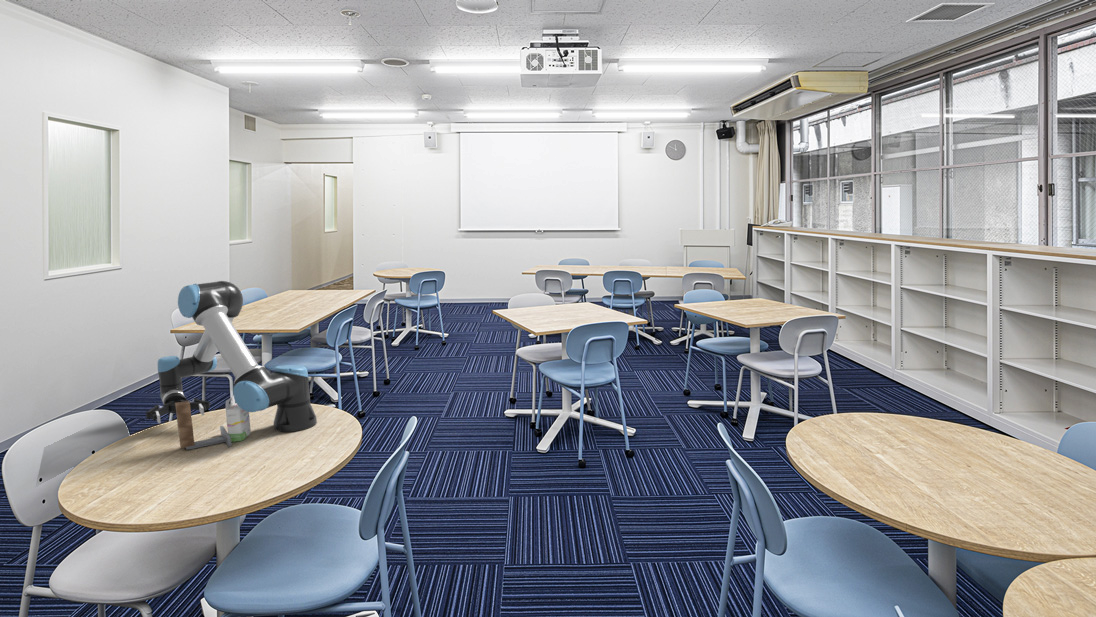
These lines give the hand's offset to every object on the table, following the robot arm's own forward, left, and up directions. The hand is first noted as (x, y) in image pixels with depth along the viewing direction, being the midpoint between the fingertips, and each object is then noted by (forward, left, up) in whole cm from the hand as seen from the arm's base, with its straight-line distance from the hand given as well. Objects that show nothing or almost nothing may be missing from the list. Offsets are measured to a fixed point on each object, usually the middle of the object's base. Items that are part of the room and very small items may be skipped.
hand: (181, 415), depth 222 cm
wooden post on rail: (-5, +11, -9) cm, 15 cm away
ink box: (-17, +10, -9) cm, 22 cm away
